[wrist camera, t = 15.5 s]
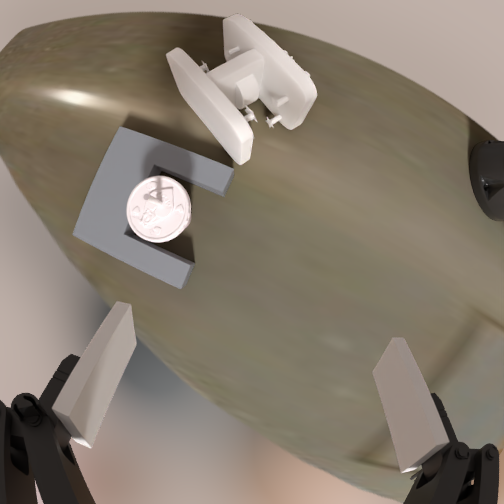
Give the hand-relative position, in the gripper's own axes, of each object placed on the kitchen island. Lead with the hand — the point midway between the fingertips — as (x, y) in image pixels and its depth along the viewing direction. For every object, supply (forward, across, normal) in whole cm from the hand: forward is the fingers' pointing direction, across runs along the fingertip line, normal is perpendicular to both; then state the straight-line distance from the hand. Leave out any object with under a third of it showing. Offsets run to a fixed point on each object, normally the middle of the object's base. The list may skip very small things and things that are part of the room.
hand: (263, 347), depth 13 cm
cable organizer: (+30, -5, +11) cm, 33 cm away
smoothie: (+24, -10, -3) cm, 26 cm away
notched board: (+24, -14, -2) cm, 27 cm away
